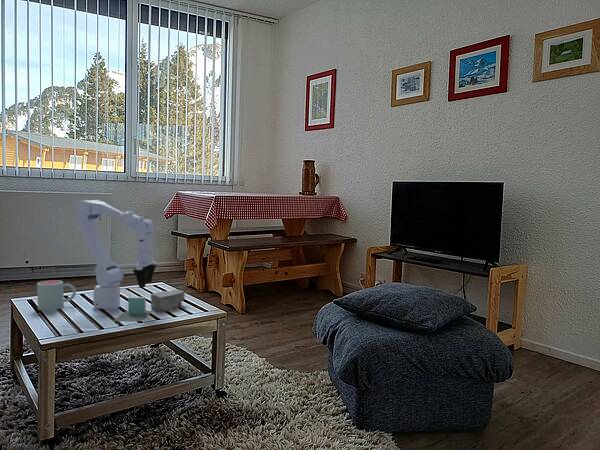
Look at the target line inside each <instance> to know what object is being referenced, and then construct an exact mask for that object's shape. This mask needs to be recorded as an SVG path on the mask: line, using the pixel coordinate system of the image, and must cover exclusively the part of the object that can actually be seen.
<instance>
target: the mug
mask: <svg viewBox="0 0 600 450" xmlns="http://www.w3.org/2000/svg"><path fill="white" fill-rule="evenodd" d="M66 287H69V288H70V289H71V290H72V295H71V296H69V297H68V298H64V288H66ZM36 289H37V290H36V292H37V294H36V295H37V296H36V297H37V310H39V311H46V312H47V311H48V312H49V311H55V310H59V309H60V310H61V309H62V308H64V307H65V303H68V302H71V301H72V300H73V299H75V296H76V294H77V293H76V292H77V291H76V288H75V286H74V285H72V284H70V283H64V281H63V280H53V279H52V280H50V279H49V280H43V281H42V280H41V281H40V282H39V281H38V282H37V283H36ZM64 302H65V303H64Z"/></svg>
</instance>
